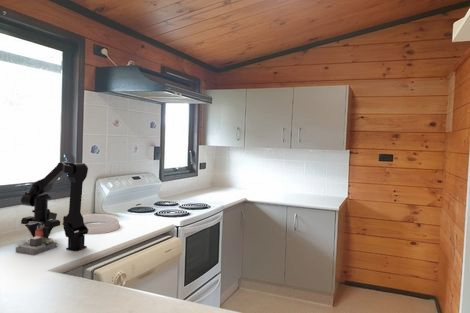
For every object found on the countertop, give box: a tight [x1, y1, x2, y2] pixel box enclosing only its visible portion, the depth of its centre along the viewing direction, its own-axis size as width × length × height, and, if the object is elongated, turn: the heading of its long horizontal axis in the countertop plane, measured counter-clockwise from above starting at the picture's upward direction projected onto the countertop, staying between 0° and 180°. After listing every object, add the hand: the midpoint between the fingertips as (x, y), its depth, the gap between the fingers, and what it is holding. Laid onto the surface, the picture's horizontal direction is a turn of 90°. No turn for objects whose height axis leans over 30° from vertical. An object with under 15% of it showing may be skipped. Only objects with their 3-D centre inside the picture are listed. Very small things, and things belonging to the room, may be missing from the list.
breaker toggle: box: [29, 236, 42, 247], centre depth 160 cm, size 3×4×4 cm
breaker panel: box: [15, 237, 58, 256], centre depth 164 cm, size 10×13×4 cm
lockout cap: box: [35, 228, 44, 237], centre depth 176 cm, size 5×5×6 cm
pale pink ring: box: [75, 213, 120, 235], centre depth 206 cm, size 27×27×6 cm
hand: (40, 239), depth 176 cm, fingers open, 7 cm apart
